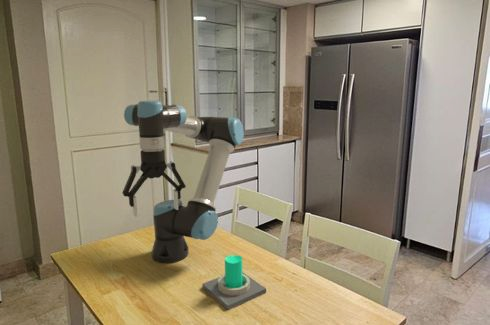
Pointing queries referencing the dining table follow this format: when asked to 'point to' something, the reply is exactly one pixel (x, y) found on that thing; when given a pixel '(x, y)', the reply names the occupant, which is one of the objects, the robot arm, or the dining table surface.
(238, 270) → the candle
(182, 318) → the dining table surface
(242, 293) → the candle stand
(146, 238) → the dining table surface
